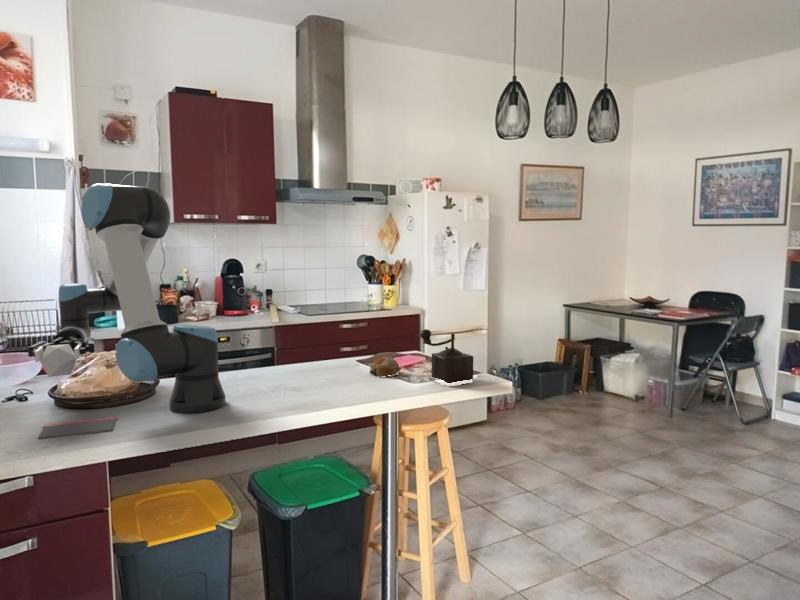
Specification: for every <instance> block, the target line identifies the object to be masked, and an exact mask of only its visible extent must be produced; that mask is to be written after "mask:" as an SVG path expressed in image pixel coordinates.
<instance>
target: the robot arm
mask: <svg viewBox="0 0 800 600" xmlns="http://www.w3.org/2000/svg"><path fill="white" fill-rule="evenodd" d="M81 219H82V221H83V223H84V224H85V226H87V227H88V228H90V229H94V231H95V234H96V237H97V238H98V239H99V240H101V241H103V242H104V245H105V249H106V253H107V257H108V258H107V259H108V261H109V266H110V268H111V275H110V277H109V279H108V282H107V284H106V286H105V287H101V288H87V284H85V283H65V284H61V285H59V287H58V304H59V305H58V308H59V318H60V321H59V323H60V331H59V332H57V334H56V335H55V336H54V338H53V340H51V341H50V342H46V341H45V340H39V341H38V342H36V343H35V344H32V345H30V346H28V347H27V357H30V358H32V357H33V358H34V359H35V360H34V362H35V363H40V359H41V357H42V355H43V353H44V351H45V348H46V346H51V345H64V344H69V345H70V347H71V348H72V350H73V352H74V353H75V359H77V360H79V359H80V357H82V356H83V355H85V354H87V353H88V352H89V354H90V353H91V354H94V353H95V338H93V337H91V328H90V325H89V314H95V313H96V314H97V313H106V312H116V311H118V312H121V315H122V319H123V323H124V329H122V331H121V333H120V338H121V339H120V340H119V341H118V342H117V343H116V345H115V355H114V356H115V360H116V363H117V365H118V368H119V370H120V371H121V373H122V375H124V377H126V378H127V379H128V380H130V381H131V382H135V383H140V382H145V381H147V382H151V381H153V380H156V379H161V378H165V377H169V376H170V377H171V376H174V375H175V376H174V377H175V381H174V385H173V386H172V387H173V389H172V391H171V394H170V398H169V409H170V410H172V411H173V412H175V413H182V414H183V413H184V414H185V413H186V414H195V413H205V412H211V411H215V410H217V409H220V408H222V407H224V406H225V405H226V399H227V398H226V393H225V391H224V389H223V386H222V383H221V381H220V377H219V350H218V344H219V341H218V339H219V338H218V333H217V330H216V329H215V328H214V327H212V326H208V325H207V326H205V325H195V324H193V325H192V324H176V325H174V326H173V328H172V331H171V332H170V330H169V327H168V324H167V322H164V321H163V320H161V318H160V316H159V311H158V307H157V303H156V299H155V295H154V291H153V288H152V283H151V279H150V276H149V271H148V267H147V262H148V261H149V259H150V257H151V255H152V253H153V251H154V249H155V246H156V245H157V244H158V241H159V240H160V239H162V238H164V237H165V235H166V234H167V232H168V229H169V228H170V227H169V226H170V223H171V211H170V207H169V204H168V202H167V200H166V198H165V197H164V196H163V195H162V194H161V193H160V192H159V191H158V190H156V189H154V188H152V187H148V186H145V185H144V186H143V185H142V186H141V185H138V186H137V185H125V184H114V183H113V184H112V183H111V182H109V183H94V184H92V185H90V186H89V187H88V188H87V190H85V193H84V195H83V199H82V202H81Z"/></svg>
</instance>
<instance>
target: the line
mask: <svg viewBox="0 0 800 600" xmlns="http://www.w3.org/2000/svg"><path fill="white" fill-rule="evenodd" d="M118 419H119V417H118V416H113V417H105V418H104V417H103V418H95V419H94V418H93V419H83V420H74V421H65V422H54V423H45V424H43V425H42V428H44V427H49V426H59V425H69V424H79V423H88V422H98V421H108V420H115V421H117V420H118Z"/></svg>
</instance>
